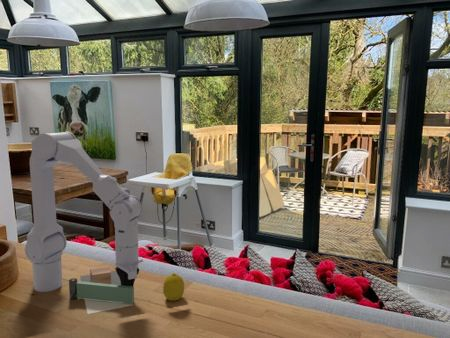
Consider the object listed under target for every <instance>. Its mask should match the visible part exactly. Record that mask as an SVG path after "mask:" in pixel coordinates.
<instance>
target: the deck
mask: <svg viewBox="0 0 450 338" xmlns="http://www.w3.org/2000/svg"><path fill="white" fill-rule="evenodd" d="M110 271H111V284H113V285H121V282H120V278H119V276H118V274H117V272H116V270H113V271H112V270H110ZM79 277H80V281H82V282H91V278H90V274H86V275H85V274H84V275H80V276H79ZM84 302H85V309H86V314H87V315H89V314H90V315H91V314H95V313H101V312H107V311H111V310H117V309H123V308H126V307H131V306H134V302H133V303H123V302H113V301H103V300H94V299H84Z"/></svg>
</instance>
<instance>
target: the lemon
mask: <svg viewBox="0 0 450 338" xmlns="http://www.w3.org/2000/svg"><path fill="white" fill-rule="evenodd" d="M162 290H163V296H164V297H165V298H166V299H167V300H168V301H171V302H176V301H179V300H180V299H181V298H182V297H183V295H184V293H185V282H184V280H183V277H182V276H181V275H179V274H177V273H175V272H173V273H171V274H169V275H167V276H166V277H165V278H164V281H163V284H162Z"/></svg>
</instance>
